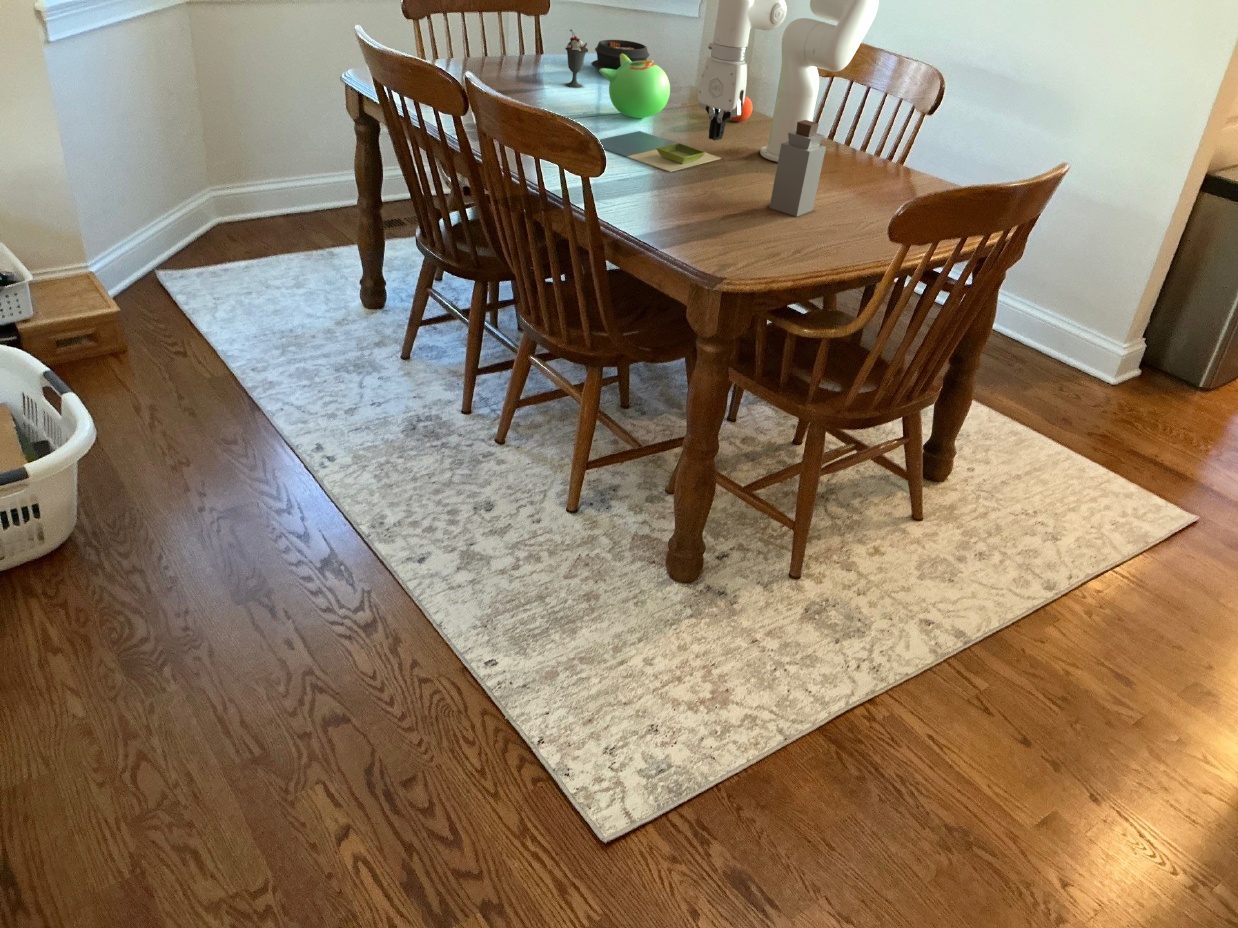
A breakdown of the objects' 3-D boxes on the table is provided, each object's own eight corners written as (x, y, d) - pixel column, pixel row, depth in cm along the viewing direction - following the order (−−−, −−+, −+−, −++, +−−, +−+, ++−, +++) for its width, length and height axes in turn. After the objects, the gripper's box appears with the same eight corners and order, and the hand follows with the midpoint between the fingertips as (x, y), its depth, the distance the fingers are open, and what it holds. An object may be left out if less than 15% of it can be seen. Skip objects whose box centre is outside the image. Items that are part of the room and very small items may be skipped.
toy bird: (654, 129, 254) (661, 69, 246) (593, 117, 257) (598, 58, 249) (674, 115, 268) (681, 58, 260) (616, 104, 272) (621, 48, 264)
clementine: (718, 121, 267) (722, 94, 264) (724, 115, 273) (728, 89, 269) (747, 126, 266) (751, 99, 262) (752, 121, 271) (756, 94, 267)
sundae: (558, 83, 287) (562, 27, 279) (579, 82, 290) (583, 28, 281) (567, 88, 282) (571, 32, 274) (588, 88, 285) (593, 33, 276)
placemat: (721, 158, 237) (721, 158, 236) (669, 172, 223) (669, 171, 223) (639, 132, 250) (639, 131, 250) (586, 143, 237) (586, 142, 236)
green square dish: (705, 161, 233) (706, 152, 232) (682, 166, 227) (683, 157, 226) (677, 151, 237) (678, 142, 236) (654, 156, 232) (655, 147, 231)
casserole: (586, 62, 315) (589, 34, 310) (644, 66, 318) (646, 39, 313) (594, 80, 294) (597, 50, 290) (655, 85, 297) (658, 55, 293)
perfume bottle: (785, 201, 213) (802, 116, 203) (812, 210, 210) (830, 124, 200) (769, 207, 209) (785, 121, 199) (796, 216, 205) (814, 129, 196)
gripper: (691, 47, 215) (679, 132, 225) (746, 62, 207) (732, 149, 217) (711, 45, 220) (699, 129, 230) (766, 59, 212) (751, 145, 222)
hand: (715, 138), depth 223 cm, fingers closed
